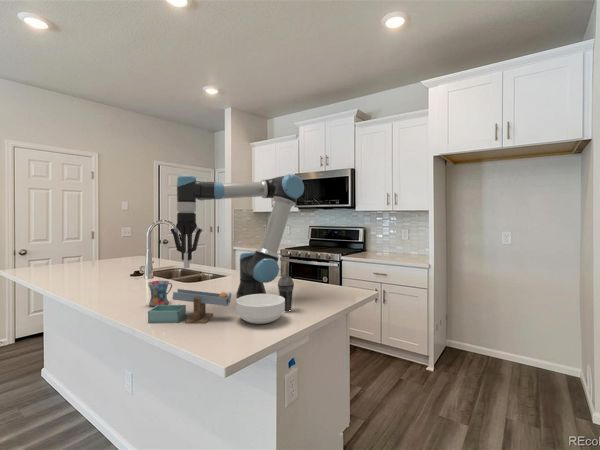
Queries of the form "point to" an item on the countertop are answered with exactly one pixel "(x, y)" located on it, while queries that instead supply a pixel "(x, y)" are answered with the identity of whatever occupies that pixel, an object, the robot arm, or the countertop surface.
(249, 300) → the bowl
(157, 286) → the mug
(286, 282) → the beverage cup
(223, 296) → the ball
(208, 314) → the fulcrum
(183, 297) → the blue-grey ramp
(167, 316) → the tray
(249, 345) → the countertop surface
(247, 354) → the countertop surface
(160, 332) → the countertop surface
